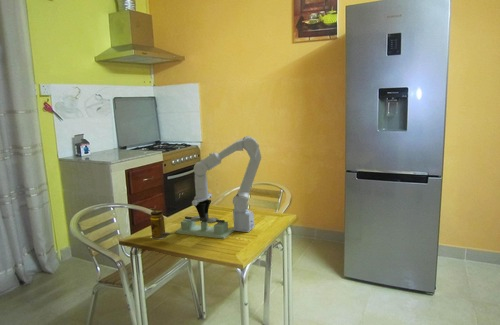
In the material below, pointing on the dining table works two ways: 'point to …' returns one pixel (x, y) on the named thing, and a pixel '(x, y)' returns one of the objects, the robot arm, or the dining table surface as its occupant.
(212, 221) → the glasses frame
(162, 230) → the condiment
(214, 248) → the dining table surface
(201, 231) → the display stand
